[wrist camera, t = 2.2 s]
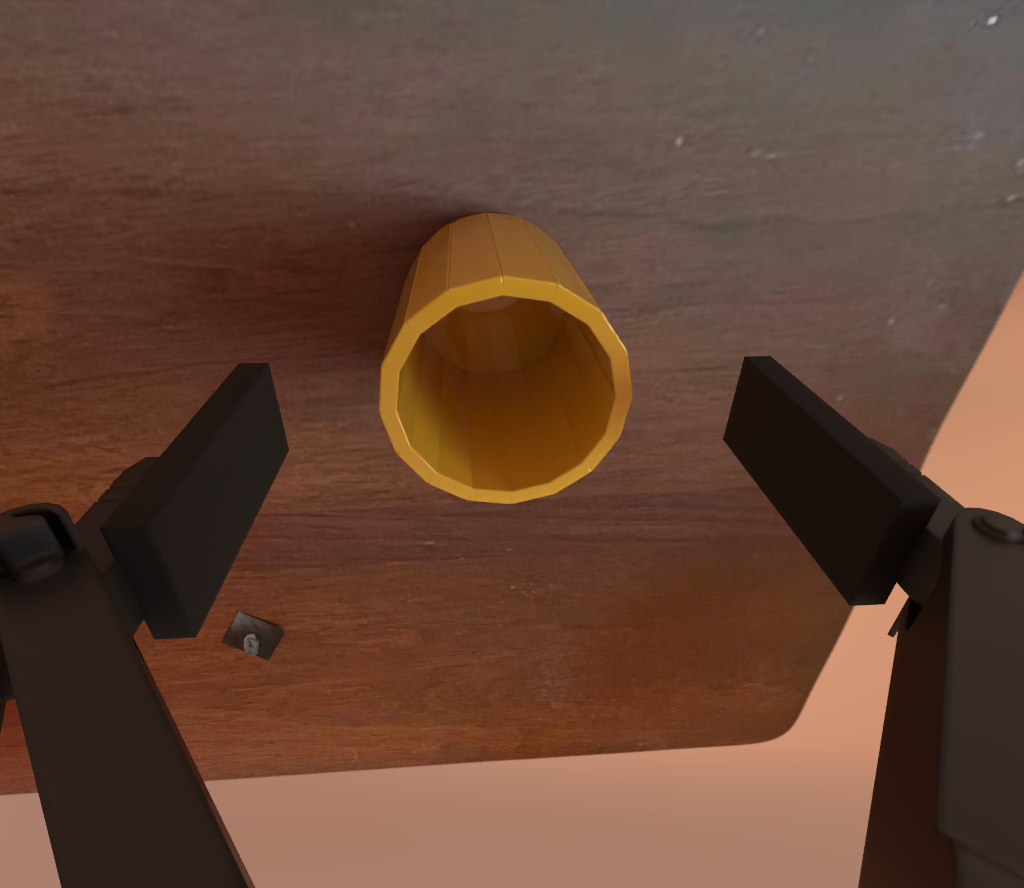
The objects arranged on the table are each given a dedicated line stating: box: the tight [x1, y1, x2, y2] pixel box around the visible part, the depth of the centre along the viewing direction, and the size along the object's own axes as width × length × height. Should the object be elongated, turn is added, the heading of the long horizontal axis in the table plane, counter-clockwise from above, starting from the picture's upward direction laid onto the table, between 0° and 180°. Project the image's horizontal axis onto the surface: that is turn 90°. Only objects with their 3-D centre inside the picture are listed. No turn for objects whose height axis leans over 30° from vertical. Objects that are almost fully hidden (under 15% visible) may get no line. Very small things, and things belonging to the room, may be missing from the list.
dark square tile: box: [222, 612, 284, 660], centre depth 32 cm, size 3×3×1 cm
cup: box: [379, 213, 633, 504], centre depth 19 cm, size 7×7×9 cm
